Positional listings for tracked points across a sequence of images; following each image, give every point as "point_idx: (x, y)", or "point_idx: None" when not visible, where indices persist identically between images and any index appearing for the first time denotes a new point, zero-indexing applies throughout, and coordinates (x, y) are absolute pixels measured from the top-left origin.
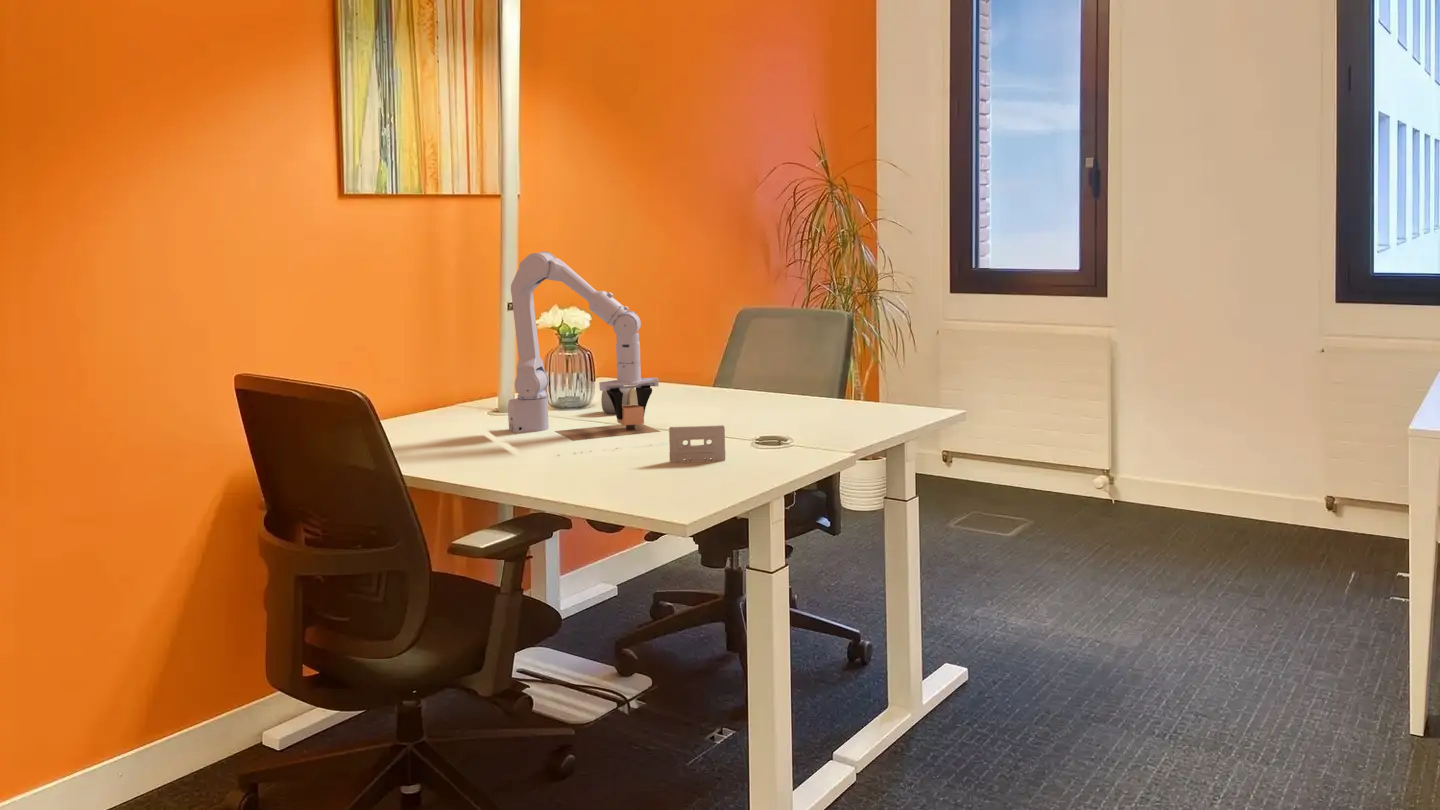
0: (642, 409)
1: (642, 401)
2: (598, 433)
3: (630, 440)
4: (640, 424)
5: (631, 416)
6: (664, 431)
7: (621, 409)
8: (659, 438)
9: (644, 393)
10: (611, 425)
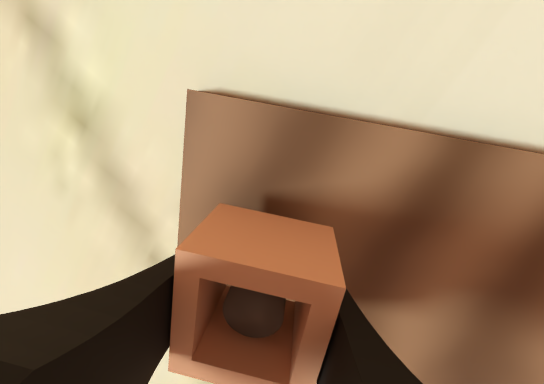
0: (192, 242)
1: (144, 305)
2: (458, 259)
3: (385, 80)
4: None
5: (287, 240)
6: (140, 171)
7: (344, 313)
8: (237, 23)
9: (62, 343)
10: None
